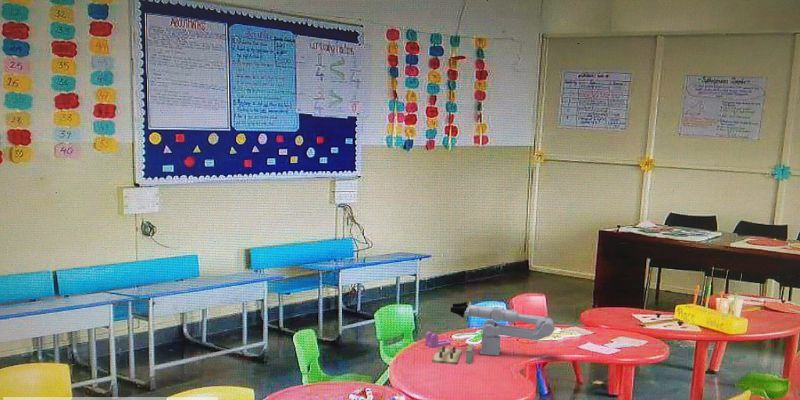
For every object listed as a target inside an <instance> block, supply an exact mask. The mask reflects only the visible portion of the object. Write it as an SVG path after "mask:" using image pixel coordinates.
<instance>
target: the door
mask: <svg viewBox="0 0 800 400" xmlns="http://www.w3.org/2000/svg"><path fill="white" fill-rule="evenodd" d="M472 358H474V345H472V344H467V347H466V351H465V364H472V362H473V359H472Z"/></svg>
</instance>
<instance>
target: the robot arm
mask: <svg viewBox="0 0 800 400" xmlns="http://www.w3.org/2000/svg"><path fill="white" fill-rule="evenodd" d="M450 313H452V314H455V315H457V316H459V317H460V318H463V319H464V318H465V316H467V317H473V318H479V319H480V318H481V319H486V320H485V322H484V323H483V327H482V328H481V330H482V331H481V332H482V333H481V345H480V347H481V348H480V351H479V354H480V355H487V356H499V355H500V352H501V336H504V337H505V336H506V337H511V338H519V339H524V340H525V339H526V340H530V341H540V340H542V339H544V338H546V337H547V338H548V337H550V336H551V335H552V334H553V333H554V331H555V321H554V320H553V319H552V318H551V317H546V316H539V315H530V314H521V313H519V312H518V311H517V310H515V309H513V308H512V309H505V308H504V307H502V308H501V307H499V306H494V307H488V306H483V305H476V304H472V303H471V301H469V302H468V301H465V302H459V303H452V306H451V307H450ZM487 319H488V320H487ZM501 321H502V322H508V323H514V324H515V323H517V322H524V323H529V324H532V325H535V328H533V329H532V328H526V327H520V326H515V325H505V324H502V323H500V322H501Z"/></svg>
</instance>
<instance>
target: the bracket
mask: <svg viewBox="0 0 800 400" xmlns="http://www.w3.org/2000/svg"><path fill="white" fill-rule="evenodd" d="M425 345H426V346H427V347H429V348H430V349H431V348H432V349H433V348H441V347H443V346H445V347H446V346H450V345H451V340H449V339H439V335H438V334H437V333H433V332H432V331H427V332H426V334H425Z"/></svg>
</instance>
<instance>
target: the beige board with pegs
mask: <svg viewBox="0 0 800 400" xmlns="http://www.w3.org/2000/svg"><path fill="white" fill-rule="evenodd" d="M462 354H463V349H460V348H459V349H457V348H456V346H453V347H452V348H446V345H445V346H441V347H437V350H436V352H435V354H434V356H433V358H432V359H431V362H432V363H438V364H439V363H440V364H451V365H458V363H459V362H460V361H459V360H460V357H461V355H462Z"/></svg>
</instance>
